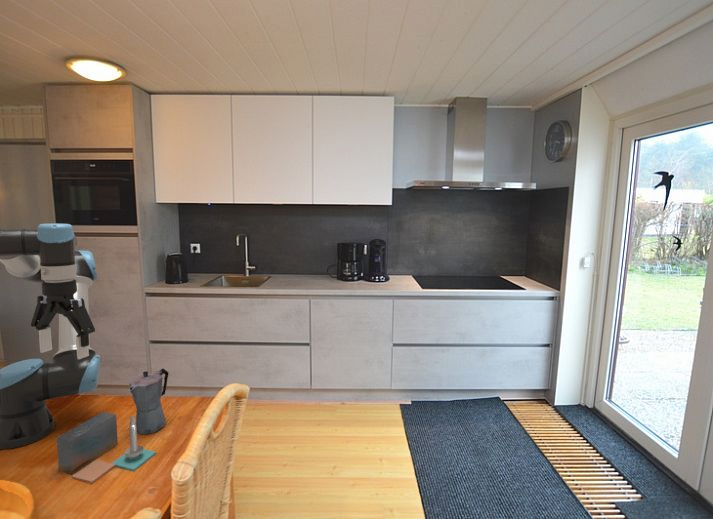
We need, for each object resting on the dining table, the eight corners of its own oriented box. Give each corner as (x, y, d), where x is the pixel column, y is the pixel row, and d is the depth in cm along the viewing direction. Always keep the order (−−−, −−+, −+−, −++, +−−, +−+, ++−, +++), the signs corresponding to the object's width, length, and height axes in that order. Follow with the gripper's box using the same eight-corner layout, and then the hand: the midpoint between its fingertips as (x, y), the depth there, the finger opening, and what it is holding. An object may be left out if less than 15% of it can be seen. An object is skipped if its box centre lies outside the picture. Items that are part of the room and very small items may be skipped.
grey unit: (57, 470, 102) (55, 437, 101) (104, 441, 116) (102, 411, 115) (72, 474, 101) (70, 440, 100) (117, 444, 114) (116, 414, 113)
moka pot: (120, 437, 118) (117, 377, 116) (156, 412, 133) (154, 359, 130) (144, 442, 116) (142, 382, 113) (179, 416, 131) (177, 362, 128)
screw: (147, 455, 109) (131, 465, 105) (136, 450, 111) (120, 459, 107) (145, 414, 107) (129, 422, 103) (135, 409, 109) (118, 417, 105)
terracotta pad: (72, 478, 100) (71, 476, 100) (96, 461, 107) (96, 459, 106) (92, 483, 98) (92, 481, 98) (115, 466, 105) (115, 464, 105)
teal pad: (111, 465, 105) (111, 463, 105) (134, 448, 113) (134, 446, 113) (133, 471, 103) (133, 469, 103) (156, 453, 111) (156, 451, 111)
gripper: (10, 278, 100) (16, 353, 103) (81, 286, 94) (86, 365, 97) (40, 274, 108) (45, 344, 110) (107, 281, 101) (111, 355, 104)
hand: (64, 354), depth 104 cm, fingers open, 13 cm apart
